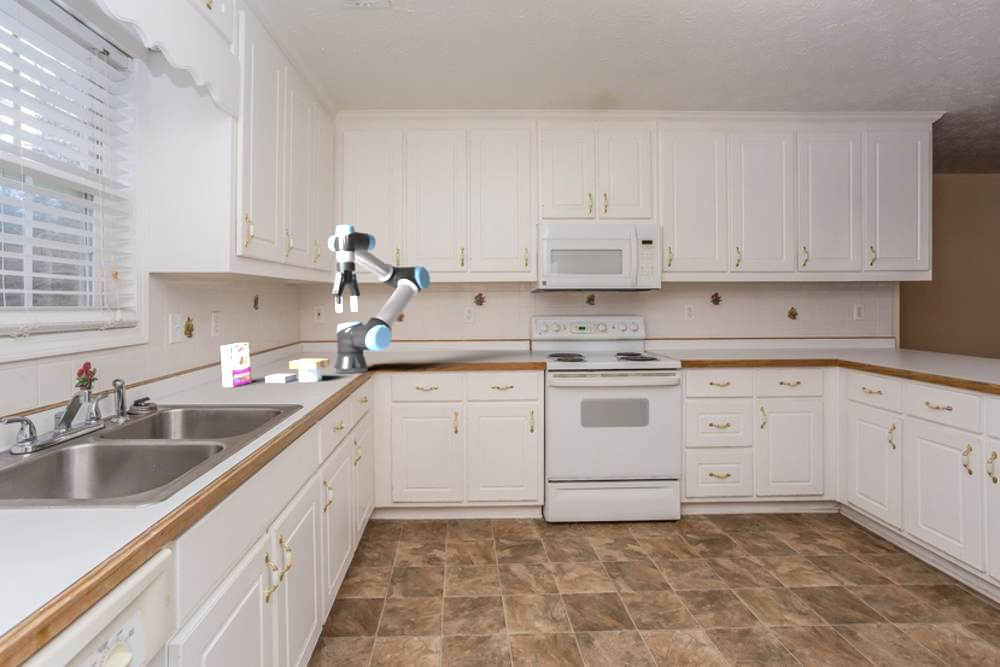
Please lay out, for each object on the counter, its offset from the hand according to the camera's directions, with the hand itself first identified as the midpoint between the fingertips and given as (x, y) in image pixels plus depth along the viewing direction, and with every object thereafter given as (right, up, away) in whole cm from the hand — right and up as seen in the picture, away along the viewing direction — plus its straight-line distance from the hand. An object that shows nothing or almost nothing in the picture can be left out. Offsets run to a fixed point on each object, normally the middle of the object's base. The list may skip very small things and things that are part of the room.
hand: (347, 311), depth 217 cm
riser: (-26, -29, -7) cm, 40 cm away
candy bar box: (-39, -30, -15) cm, 52 cm away
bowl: (-14, -29, -5) cm, 33 cm away
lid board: (-14, -24, -5) cm, 28 cm away
